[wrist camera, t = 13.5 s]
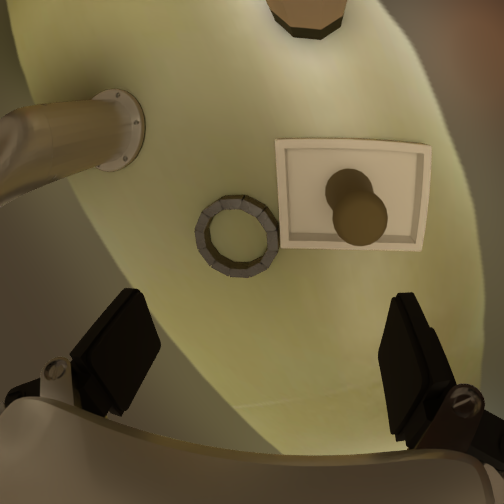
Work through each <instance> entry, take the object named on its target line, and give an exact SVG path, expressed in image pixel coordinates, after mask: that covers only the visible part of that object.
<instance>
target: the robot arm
mask: <svg viewBox="0 0 504 504" xmlns="http://www.w3.org/2000/svg"><path fill="white" fill-rule="evenodd" d="M144 132H145V122H144V116H143V111H142V109H141V107H140V104H139V103H138V102H137V100H136V99H135V98H134V97H133V96H132V95H131V94H130V93H128V92H126V91H124V90H120V89H109V90H105V91H102V92H100V93H98V94H97V95H95V96H94V97H93V98H92V99H91V100H80V101H67V102H56V103H47V104H39V105H32V106H26V107H21V108H17V109H15V110H13V111H11V112H9V113H8V114H6V115H5V116H3V117H2V118H1V119H0V207H2V206H3V205H5V204H6V203H8V202H10V201H11V200H13V199H15V198H17V197H19V196H21V195H23V194H25V193H28V192H30V191H32V190H35V189H37V188H39V187H42V186H44V185H46V184H49V183H51V182H54V181H57V180H59V179H62V178H64V177H67V176H70V175H72V174H75V173H78V172H81V171H84V170H87V169H89V168H92V167H96V168H98V169H100V170H102V171H107V172H109V171H116V170H119V169H121V168H124V167H126V166H127V165H128V164H130V163H131V162H132V161H133V160H134V158H135V157H136V156H137V154H138V152H139V151H140V148H141V146H142V143H143V139H144ZM160 347H161V342H160V339H159V337H158V334H157V331H156V329H155V326H154V324H153V321H152V318H151V315H150V312H149V309H148V306H147V303H146V301H145V298H144V295H143V294H142V293H141V292H140V291H139V290H138V289H132V288H125V289H124V290H122V291H121V292H120V294H119V295H118V296H117V297H116V298H115V299H114V301H113V302H112V303H111V304H110V305H109V306H108V307H107V309H106V310H105V311H104V312H103V313H102V315H101V316H100V317H99V318H98V319H97V321H96V322H95V323H94V324H93V325H92V327H91V328H90V329H89V330H88V331H87V333H86V334H85V335H84V336H83V338H82V339H81V340H80V341H79V343H78V344H77V345H76V346H75V348H74V349H73V350H72V351H71V353H70V356H71V357H72V361H71V362H70V361H69V360H68V359H67V358H65V357H55V358H53V359H51V360H50V361H48V362H47V363H46V364H45V365H44V367H43V368H42V371H41V378H38V379H36V380H33V381H30V382H28V383H25V384H22V385H19V386H16V387H15V388H13V389H11V390H10V391H9V392H8V394H7V396H6V398H5V403H4V402H1V403H0V504H504V420H502V419H501V418H499V417H497V416H495V415H493V414H492V413H489V412H488V411H486V410H484V408H485V400H484V397H483V395H482V393H481V392H480V391H479V390H478V389H477V388H476V387H474V386H473V385H470V384H458V385H457V384H456V381H455V379H454V376H453V373H452V371H451V368H450V365H449V363H448V360H447V358H446V355H445V353H444V351H443V348H442V346H441V343H440V341H439V339H438V337H437V334H436V332H435V330H434V329H433V328H432V327H429V325H428V322H427V320H426V318H425V316H424V314H423V312H422V309H421V307H420V305H419V303H418V301H417V299H416V297H415V295H414V293H412V292H410V293H398V294H397V295H396V297H393V298H392V299H391V303H390V308H389V312H388V316H387V321H386V325H385V329H384V333H383V336H382V340H381V344H380V347H379V351H378V361H379V366H380V371H381V376H382V382H383V387H384V393H385V399H386V405H387V412H388V419H389V426H390V432H391V434H392V435H393V434H395V438H396V442H398V441H404V440H405V441H406V446H407V447H408V449H407V450H402V451H391V452H380V453H369V454H354V455H323V456H308V455H280V454H266V453H255V452H246V451H238V450H230V449H224V448H217V447H211V446H205V445H201V444H195V443H191V442H186V441H181V440H176V439H173V438H169V437H165V436H161V435H157V434H153V433H149V432H146V431H143V430H139V429H136V428H133V427H130V426H127V425H123V424H120V423H118V422H115V421H112V420H109V419H108V417H107V413H108V411H110V413H112V414H115V415H118V416H122V414H123V412H124V411H126V410H127V409H128V408H129V406H130V404H131V403H132V400H133V399H134V397H135V395H136V393H137V391H138V389H139V387H140V385H141V384H142V382H143V380H144V378H145V376H146V374H147V372H148V370H149V369H150V367H151V365H152V363H153V361H154V360H155V358H156V356H157V354H158V352H159V350H160Z"/></svg>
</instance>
